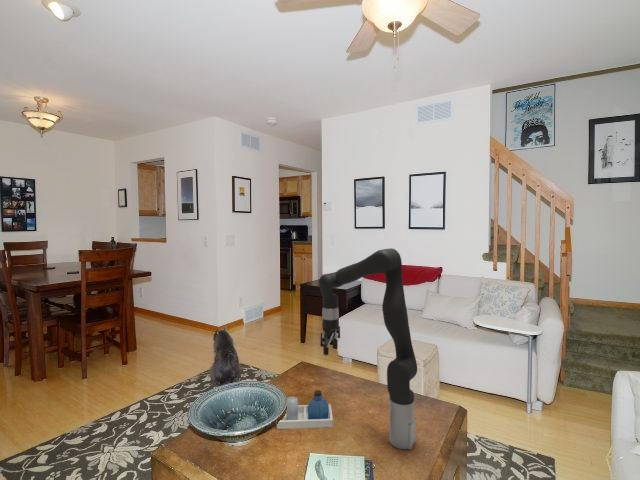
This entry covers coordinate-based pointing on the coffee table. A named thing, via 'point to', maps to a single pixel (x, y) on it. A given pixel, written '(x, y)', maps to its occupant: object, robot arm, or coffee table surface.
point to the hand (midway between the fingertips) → (330, 351)
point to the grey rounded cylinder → (292, 408)
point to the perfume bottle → (318, 407)
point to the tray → (306, 420)
